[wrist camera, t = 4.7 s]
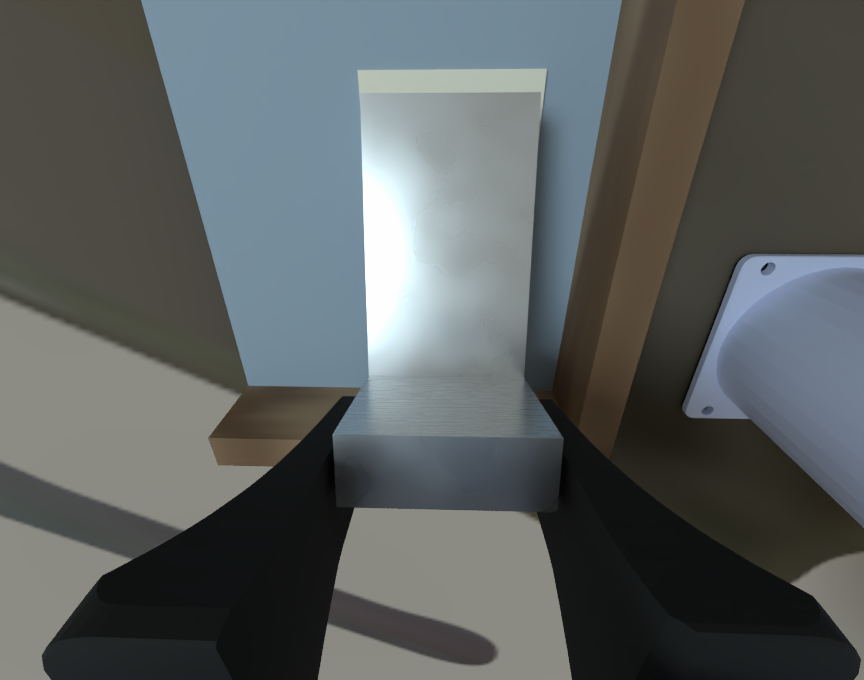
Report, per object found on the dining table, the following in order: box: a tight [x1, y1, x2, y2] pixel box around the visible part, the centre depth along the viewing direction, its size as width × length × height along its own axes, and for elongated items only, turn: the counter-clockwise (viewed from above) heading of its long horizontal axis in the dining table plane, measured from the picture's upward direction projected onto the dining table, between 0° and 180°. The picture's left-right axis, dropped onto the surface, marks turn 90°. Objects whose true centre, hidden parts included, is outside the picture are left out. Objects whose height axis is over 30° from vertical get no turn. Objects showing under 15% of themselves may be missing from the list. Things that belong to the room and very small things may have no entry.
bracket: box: [333, 92, 564, 512], centre depth 11 cm, size 10×5×6 cm, turn 0°
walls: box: [209, 0, 745, 466], centre depth 12 cm, size 16×26×4 cm, turn 0°
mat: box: [141, 0, 622, 391], centre depth 13 cm, size 16×26×1 cm, turn 0°
